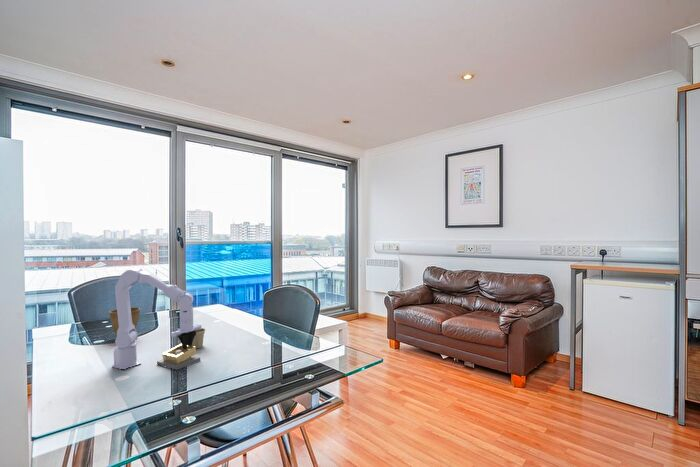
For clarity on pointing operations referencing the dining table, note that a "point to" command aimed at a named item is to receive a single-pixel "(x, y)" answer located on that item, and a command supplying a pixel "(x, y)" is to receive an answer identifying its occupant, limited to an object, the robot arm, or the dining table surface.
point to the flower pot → (198, 338)
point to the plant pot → (115, 318)
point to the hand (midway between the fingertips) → (187, 348)
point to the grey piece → (178, 366)
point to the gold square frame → (176, 359)
